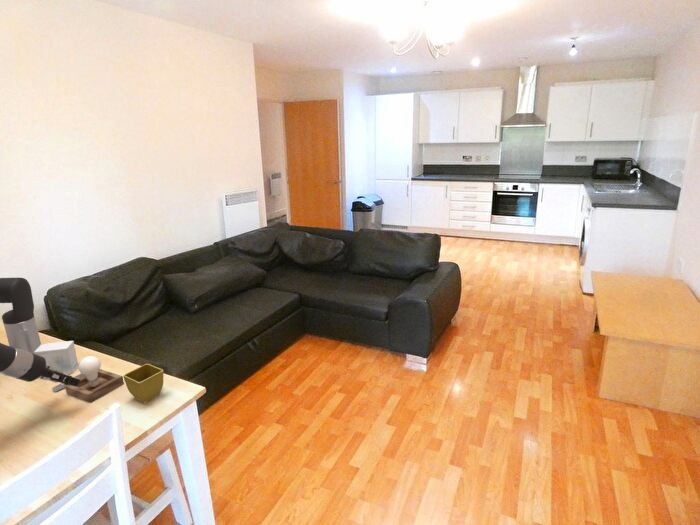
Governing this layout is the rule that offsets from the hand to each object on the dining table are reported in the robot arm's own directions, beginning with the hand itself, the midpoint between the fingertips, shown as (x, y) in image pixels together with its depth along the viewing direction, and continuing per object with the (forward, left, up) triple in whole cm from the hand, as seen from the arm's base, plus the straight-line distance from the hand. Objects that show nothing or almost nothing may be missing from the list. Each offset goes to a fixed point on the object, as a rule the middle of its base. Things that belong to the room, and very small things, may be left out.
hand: (69, 380), depth 132 cm
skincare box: (-23, +9, -8) cm, 27 cm away
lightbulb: (0, +7, -7) cm, 10 cm away
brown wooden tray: (0, +7, -8) cm, 11 cm away
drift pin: (-11, +5, -8) cm, 15 cm away
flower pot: (+20, +11, -8) cm, 24 cm away
